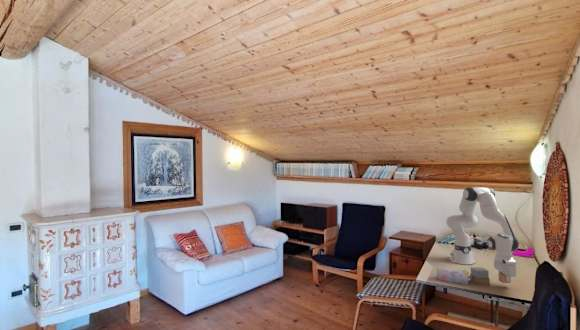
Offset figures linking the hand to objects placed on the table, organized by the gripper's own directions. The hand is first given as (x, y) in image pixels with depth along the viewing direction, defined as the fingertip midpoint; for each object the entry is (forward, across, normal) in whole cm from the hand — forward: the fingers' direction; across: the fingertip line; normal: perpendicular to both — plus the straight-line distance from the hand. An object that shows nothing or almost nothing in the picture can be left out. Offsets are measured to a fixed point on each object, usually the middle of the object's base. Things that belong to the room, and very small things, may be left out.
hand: (504, 279), depth 223 cm
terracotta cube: (+2, 0, 0) cm, 2 cm away
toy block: (+6, -78, +58) cm, 98 cm away
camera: (+6, -102, +34) cm, 108 cm away
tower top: (0, -7, -13) cm, 14 cm away
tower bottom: (+5, -7, -13) cm, 15 cm away
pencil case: (+5, -8, -30) cm, 32 cm away
